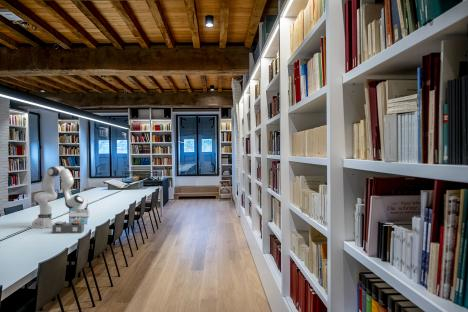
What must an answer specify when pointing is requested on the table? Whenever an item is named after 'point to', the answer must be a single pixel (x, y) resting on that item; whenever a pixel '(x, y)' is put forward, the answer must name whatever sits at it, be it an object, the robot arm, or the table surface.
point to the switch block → (68, 227)
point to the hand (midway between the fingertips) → (77, 221)
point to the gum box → (84, 220)
